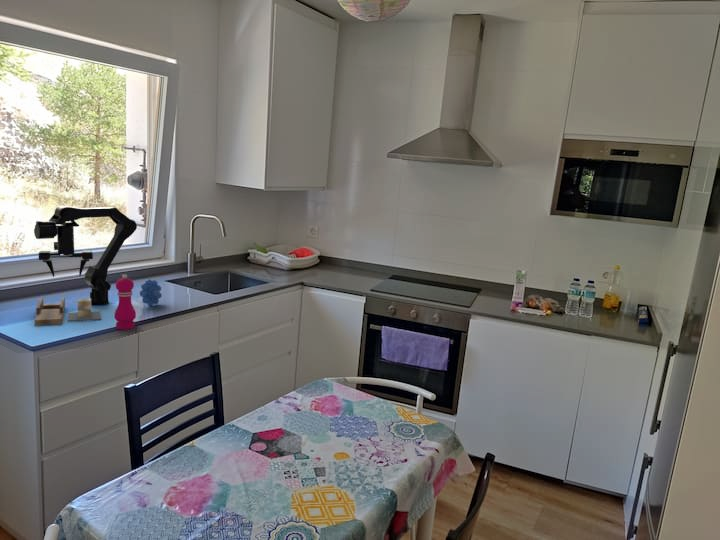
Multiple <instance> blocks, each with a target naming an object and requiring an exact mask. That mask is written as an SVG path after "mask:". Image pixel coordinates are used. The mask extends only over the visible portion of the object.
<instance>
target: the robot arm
mask: <svg viewBox="0 0 720 540" xmlns="http://www.w3.org/2000/svg"><path fill="white" fill-rule="evenodd" d="M85 218H110V220H111V221H112V222H113V223H115V224H116V225H115V227H114V234H113V237H112V238H111V240H110V242H109V243H108V245H107V247H106V248H105V250H104V251H103V253H102V255H101V256H100V258H99V260H97V263H96V264H95V265H94V266H93V265H89V266H88V269H86V271H85V273H83V270H84V267H85V266H86V263H87V262H89V261H90V260H93V259H94V253H93V251H92V250H81V252H75V238H74V237H75V235H74V233H75V231H74V230H75V229H74V227H75V228H76V227H80V224H79V223H77V222H76V221H77V220H81V219H85ZM137 228H138V225H137V222H136V221H135V220H134V219H132V218H129V217H128V216H127V215H125V214H124V213H122V212H121V211H120V210H119V208H117V207H113V206H106V207H83V208H82V207H81V208H79V207H73V206H67V205H59V206H57V207H55V209H54V214H53V215H52V216H51V218H49V219H48V221H41V220H36V221H35V226H34V229H33V234H34V237H35V239H36V240H44V239H45V240H46V239H48V240H49V239H50V240H51V239H55V237H57V241H53V251H57V252H51V250H40V251H39V252H38V261H42V262H43V263H45V264H46V265H47V267H48V268H49V270H50V273H51V274H52V277H53V278H54V277H55V269H54V265H53V258H54V259H55V258H56V259H57V258H80V263H79V270H78V271H79V277H81V275H82V273H83V274H84V281H85V283H86V284H87V285H88V287H89V288H90V289H91V291H90V293H89V298H91V306H95V305H110V304H109V303H110V300H109V291H110V290H111V287H112V285H111V284H110V283H109V282H107V277H108V270H109V268H110V266H111V265H112V263H113V262H114V259H115V258H116V256H117V254H118V252H119V251H120V249H121V247H122V246H123V245H124V242H125V241H126V240H127V239H129V238H130V237H131V236H132V235H133V234H134V233H135V232H136V230H137Z"/></svg>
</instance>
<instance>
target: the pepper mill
mask: <svg viewBox="0 0 720 540" xmlns="http://www.w3.org/2000/svg"><path fill="white" fill-rule="evenodd" d="M134 284H135V283H134V281H133V280H132V279H131V278H128V275H127V274H126V273H124V274H122V275H121V278H119V279H118V280H117V281H116V283H115V288H116V290H117V296H118V304H117V307H116V308H115V309H116V310H115V311H114V317H113V318H114V319H115V321H117V322H115V328H116V329H118V330H131V329H134V328H135V326H136V325H135V324H136V323H135V321H134V320H135V319H136V317H137V314H136V309H135V308H134V306H133V303H132V296H133V289H134V287H135V285H134Z"/></svg>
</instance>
